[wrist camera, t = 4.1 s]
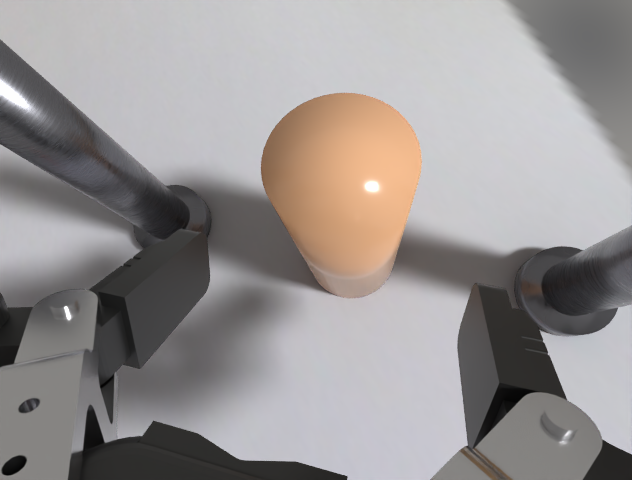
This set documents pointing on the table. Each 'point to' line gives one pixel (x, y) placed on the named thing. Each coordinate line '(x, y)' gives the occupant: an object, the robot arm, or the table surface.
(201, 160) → the table surface
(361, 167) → the canister
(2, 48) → the left post
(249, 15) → the table surface
